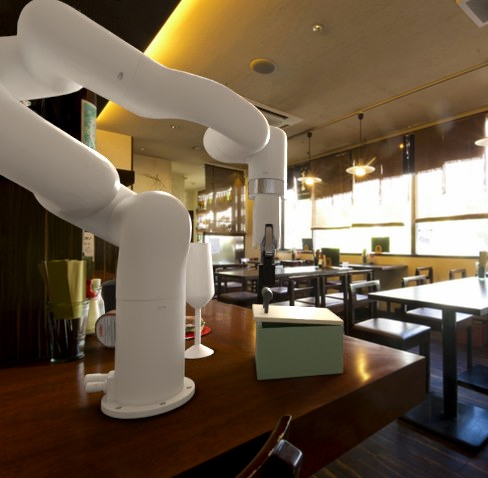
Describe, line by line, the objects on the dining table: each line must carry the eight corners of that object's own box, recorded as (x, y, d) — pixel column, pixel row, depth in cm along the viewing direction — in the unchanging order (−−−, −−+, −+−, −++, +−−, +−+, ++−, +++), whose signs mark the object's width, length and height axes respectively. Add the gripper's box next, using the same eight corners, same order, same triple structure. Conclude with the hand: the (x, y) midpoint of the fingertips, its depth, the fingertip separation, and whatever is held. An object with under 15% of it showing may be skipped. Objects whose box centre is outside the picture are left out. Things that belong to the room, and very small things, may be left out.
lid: (253, 321, 57) (256, 292, 58) (252, 308, 70) (254, 284, 70) (343, 325, 61) (345, 298, 61) (326, 311, 73) (328, 289, 73)
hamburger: (158, 328, 92) (159, 307, 92) (211, 325, 96) (211, 305, 97) (148, 342, 79) (149, 317, 79) (210, 338, 83) (210, 314, 83)
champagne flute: (173, 356, 69) (175, 242, 70) (194, 347, 76) (196, 243, 76) (200, 359, 67) (202, 242, 68) (219, 350, 74) (221, 243, 74)
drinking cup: (95, 340, 80) (96, 258, 81) (106, 332, 88) (107, 257, 88) (129, 338, 82) (131, 258, 83) (138, 330, 90) (139, 257, 90)
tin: (162, 347, 75) (163, 310, 76) (154, 351, 72) (155, 313, 72) (101, 344, 77) (102, 308, 77) (91, 348, 74) (92, 311, 74)
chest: (257, 380, 57) (258, 329, 57) (255, 356, 70) (255, 314, 70) (343, 373, 61) (343, 325, 61) (326, 351, 73) (326, 312, 73)
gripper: (247, 196, 71) (246, 281, 71) (248, 184, 56) (247, 291, 56) (282, 197, 73) (281, 280, 72) (291, 186, 58) (291, 289, 58)
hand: (266, 285), depth 64 cm, fingers closed
